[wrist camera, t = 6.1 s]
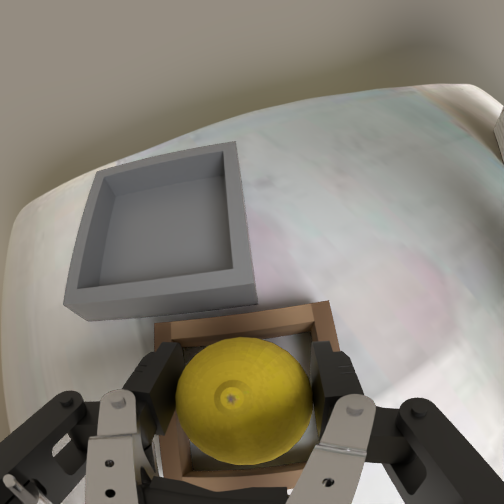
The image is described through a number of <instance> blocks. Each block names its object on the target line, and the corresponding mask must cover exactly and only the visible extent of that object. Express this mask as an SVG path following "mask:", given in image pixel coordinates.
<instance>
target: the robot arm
mask: <svg viewBox="0 0 504 504" xmlns="http://www.w3.org/2000/svg"><path fill="white" fill-rule="evenodd" d="M184 368H185V363H184V358H183V353H182V348H181V345H180V343H178V342H162V343H161V344H160V346H159V347H158V349H157V351H156V352H150V353H149V354H148V355H146V356H145V357H143V358H142V360H141V361H140V363H139V364H138V366H137V367H136V369H135V370H134V372H133V373H132V375H131V376H130V377H129V379H128V380H127V382H126V383H125V385H124V386H123V388H122V389H118V390H113V391H110V392H108V393H107V394H105V395H104V396H103V397H102V399H101V401H100V402H84V400H83V398H82V396H81V394H79V393H78V392H76V391H65V392H62V393H60V394H58V395H56V396H55V397H54V398H53V399H52V400H50V401H49V402H48V403H47V404H46V405H44V406H43V407H42V408H41V409H40V410H38V411H37V412H36V413H35V414H34V415H32V416H31V417H30V418H29V419H28V420H26V421H25V422H24V423H23V424H22V425H21V426H19V427H18V428H17V429H16V430H15V431H13V432H12V433H11V434H10V435H9V436H8V437H6V438H5V439H4V440H3V441H2V442H1V443H0V504H60V503H61V502H62V501H63V500H64V499H65V498H66V497H67V495H68V494H69V493H70V492H71V491H72V490H73V489H74V487H75V486H76V485H77V484H78V483H79V482H80V480H81V479H82V478H83V477H84V476H85V475H86V483H85V504H351V503H352V500H353V497H354V494H355V491H356V488H357V485H358V482H359V479H360V476H361V472H362V469H363V465H364V462H370V463H382V465H383V467H384V468H385V470H386V472H387V473H388V475H389V477H390V479H391V480H392V482H393V484H394V485H395V487H396V489H397V491H398V492H399V494H400V496H401V497H402V499H403V501H404V502H405V504H504V482H503V481H502V479H501V478H500V477H499V476H498V475H497V474H496V472H495V471H494V470H493V469H492V468H491V467H490V466H489V464H488V463H487V462H486V461H485V460H484V459H483V458H482V456H481V455H480V454H479V453H478V452H477V451H476V450H475V448H474V447H473V446H472V445H471V444H470V443H469V442H468V441H467V439H466V438H465V437H464V436H463V435H462V434H461V433H460V432H459V431H458V430H457V428H456V427H455V426H454V425H453V424H452V423H451V422H450V421H449V420H448V419H447V417H446V416H445V415H444V414H443V413H442V412H441V411H440V410H439V409H438V408H437V407H436V405H435V404H434V403H432V402H431V401H429V400H427V399H424V398H411V399H408V400H406V401H405V402H403V403H402V405H401V406H400V409H392V408H381V407H378V406H376V405H375V403H374V401H373V400H372V399H370V398H369V397H367V396H365V395H364V393H363V390H362V388H361V385H360V382H359V380H358V377H357V375H356V373H355V370H354V367H353V365H352V362H351V360H350V357H349V356H347V355H346V354H345V353H344V352H343V351H337V352H333V350H332V347H331V344H330V341H316V342H312V343H311V359H310V385H311V389H312V392H313V405H314V411H315V418H316V424H317V431H318V438H319V441H320V443H319V444H316V445H315V447H314V449H313V451H312V453H311V455H310V457H309V459H308V461H307V464H306V466H305V468H304V470H303V472H302V474H301V476H300V478H299V479H298V481H297V483H296V485H295V487H294V489H293V491H292V493H291V495H287V487H249V488H243V489H236V490H229V491H220V492H216V491H211V490H208V489H205V488H202V487H199V486H196V485H193V484H190V483H188V482H185V481H180V480H174V479H168V478H163V477H159V472H158V466H157V459H156V453H155V446H154V442H153V437H154V435H155V434H156V435H163V436H165V434H166V431H167V429H168V426H169V424H170V421H171V419H172V416H173V414H174V411H175V409H176V401H175V395H176V390H177V385H178V380H179V378H180V376H181V374H182V372H183V370H184ZM66 433H68V435H69V437H70V438H71V441H70V442H69V443H68V444H67V445H66V446H65V447H64V448H63V449H62V450H61V451H60V452H59V453H58V454H57V455H56V456H55V457H53V456H52V448H53V446H54V445H55V444H56V443H57V442H58V441H59V440H60V439H61V438H62V437H63V436H64V435H65V434H66Z"/></svg>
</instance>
